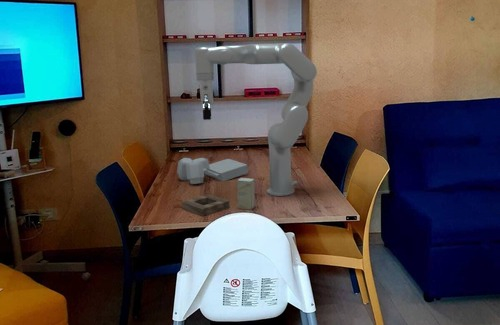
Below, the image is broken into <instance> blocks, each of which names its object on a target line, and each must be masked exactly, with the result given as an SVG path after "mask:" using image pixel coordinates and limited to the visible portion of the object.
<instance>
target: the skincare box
mask: <svg viewBox="0 0 500 325" xmlns="http://www.w3.org/2000/svg"><path fill="white" fill-rule="evenodd" d="M236 184H237V188H236V189H237V209H243V210H251V211H252V209H254V208H255V178H245V177H240V178H239V179H237V182H236Z"/></svg>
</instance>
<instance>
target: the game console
mask: <svg viewBox="0 0 500 325" xmlns="http://www.w3.org/2000/svg"><path fill="white" fill-rule="evenodd" d="M248 166H249V165H248V164H246V163H243V162H240V161H237V160H234V159H231V158H226V159H223V160H222V159H221V160H220V161H219V160H218V161H216V162H213V163H210V162H209V159H208V158H206V157H199V158H198V157H197V158H195V159H192V158H190V157H183V158H182V159H180V160H179V161H178V162H177V170H176V173H177V174H178V178H179V179H180V180H181V181H189V182H190V184H191V185H196V184H202V183H204V178H205V176H207V175H208V176H207V177H209V176H210V178H212V177H213V179H214V178H215V179H214V180H217V181H220V182H225V181H228V180H231V179H235V178H237V177H241V176H243V175H246V174H249V167H248ZM204 174H205V175H204Z"/></svg>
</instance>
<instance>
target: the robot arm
mask: <svg viewBox="0 0 500 325" xmlns="http://www.w3.org/2000/svg"><path fill="white" fill-rule="evenodd" d="M194 58H195V60H194V61H195V73H196V74H195V76H196V77H195V79H196V82H199V94H200V101H201V105H202V108H203V110H202V119H203V120H205V121H209V120H210V121H211V119H212V107H211V105H213V104H214V88H213V81H214V82H215V64H217V65H227V64H229V65H230V64H247V65H277V64H280V65H281V64H282V65H283V64H284V65H285V66H286V67H287V69H289V70H290V74H291V76H292V78H293V83H294V85H293V89H292V91H291V92H290V95H289V96H288V98H287V100H286V102H285V104H284V106H283V107H282V110H281V118H282V122H281V123H280V122H278V123H277V122H276V123H274V124H272V125H270V127H269V128H268V132H267V141H268V151H269V153H268V154H269V155H268V156H269V188H267V189H266V194H268V195H269V196H274V197H285V196H291V195H294V193H295V189H294V187H293V186H296V185H298V181H297V180H294V181H292V172H291V171H292V170H291V169H292V168H291V166H292V165H291V160H292V157H291V156H292V155H291V154H292V153H291V148H292V146H294V144H295V143H296V142H297V140H298V139H299V137H300V135H301V133H302V132H303V130H304V128H305V127H306V123H307V122H308V119H309V111H308V109H307V106H308V104H309V101H310V99H311V97H312V95H313V92H314V79H315V78H316V76H317V72H318V71H317V67H316V65H315V64H314V63H313V62H312V61H311V60H310V58H308V57H307V56H306V55H305V54H304V53H303V52H302V51H301V50H299V48H297V47H296V46H295V45H294V44H293V43H290V42H281V43H280V42H279V43H278V42H277V43H251V44H246V45H245V44H244V45H219V46H215V47H214V46H213V47H211V46H201V47H200V46H198V47H196V48H195V50H194Z"/></svg>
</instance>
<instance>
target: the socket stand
mask: <svg viewBox="0 0 500 325" xmlns="http://www.w3.org/2000/svg"><path fill="white" fill-rule="evenodd" d="M181 208H182V210H185V211H188V212H190V213H192V214H196V215H199V216H201V217H205V216H208V215H211V214H214V213H218V212H221V211H223V210H227V209H229V208H230V200H228V199H226V198H221V197H218V196H215V195H212V194H209V193H207V194H204V195H201V196H197V197H194V198H191V199H186V200H184V201H181Z"/></svg>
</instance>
